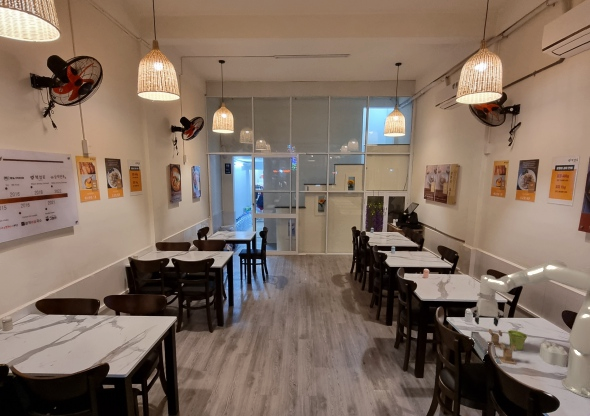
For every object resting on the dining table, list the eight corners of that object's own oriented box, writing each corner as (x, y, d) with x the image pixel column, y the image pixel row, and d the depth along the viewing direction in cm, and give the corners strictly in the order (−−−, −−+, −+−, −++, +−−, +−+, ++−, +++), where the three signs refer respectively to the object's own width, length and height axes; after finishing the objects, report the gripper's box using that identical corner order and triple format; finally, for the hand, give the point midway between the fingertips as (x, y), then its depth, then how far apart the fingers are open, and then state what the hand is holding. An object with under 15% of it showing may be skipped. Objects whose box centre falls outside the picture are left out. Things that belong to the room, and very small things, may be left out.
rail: (492, 357, 160) (493, 350, 159) (485, 356, 161) (485, 349, 160) (477, 338, 181) (478, 332, 180) (471, 337, 182) (471, 331, 181)
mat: (501, 363, 155) (501, 362, 155) (483, 361, 157) (483, 360, 157) (483, 340, 178) (483, 339, 178) (468, 338, 181) (468, 337, 181)
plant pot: (508, 349, 169) (509, 335, 169) (505, 341, 178) (506, 328, 177) (527, 353, 165) (529, 339, 164) (523, 345, 173) (524, 332, 173)
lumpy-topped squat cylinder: (544, 363, 156) (545, 348, 156) (535, 350, 168) (537, 337, 168) (568, 368, 152) (570, 353, 151) (558, 355, 164) (559, 341, 163)
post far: (502, 348, 170) (503, 333, 169) (490, 346, 172) (491, 332, 171) (498, 343, 175) (499, 329, 174) (487, 342, 177) (488, 328, 176)
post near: (515, 364, 155) (517, 348, 154) (502, 362, 156) (503, 346, 156) (511, 359, 160) (512, 343, 159) (498, 357, 161) (499, 341, 160)
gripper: (473, 297, 164) (472, 325, 165) (507, 300, 159) (505, 329, 160) (468, 292, 171) (467, 319, 172) (501, 295, 166) (499, 323, 168)
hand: (486, 324), depth 166 cm, fingers open, 9 cm apart
